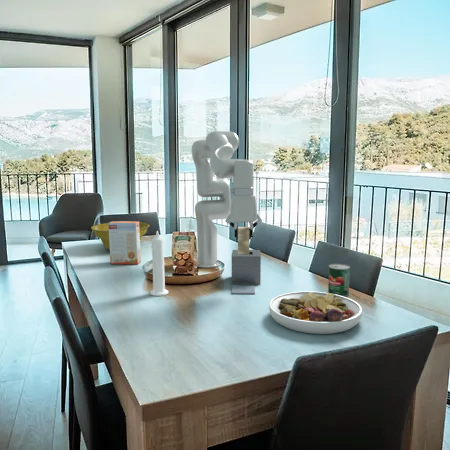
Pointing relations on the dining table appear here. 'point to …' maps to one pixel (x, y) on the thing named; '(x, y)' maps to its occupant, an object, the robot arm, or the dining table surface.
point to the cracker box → (124, 242)
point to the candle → (158, 266)
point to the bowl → (315, 312)
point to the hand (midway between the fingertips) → (243, 238)
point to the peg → (243, 240)
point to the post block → (246, 267)
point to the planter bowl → (103, 232)
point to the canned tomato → (339, 279)
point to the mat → (243, 289)
